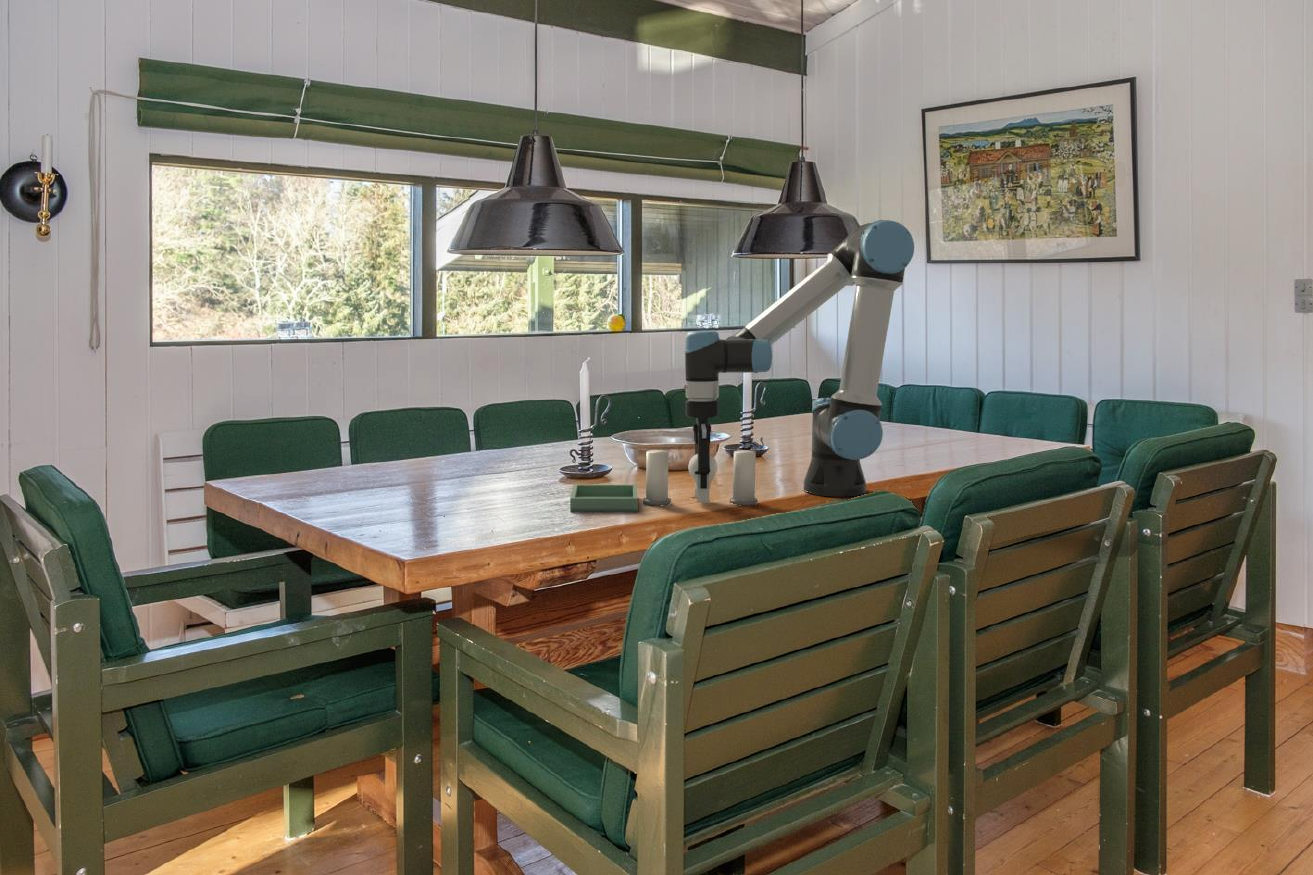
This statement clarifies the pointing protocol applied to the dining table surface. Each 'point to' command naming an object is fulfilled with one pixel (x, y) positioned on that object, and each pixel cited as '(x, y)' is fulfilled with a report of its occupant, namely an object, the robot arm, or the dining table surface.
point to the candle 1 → (656, 478)
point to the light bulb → (694, 467)
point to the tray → (604, 498)
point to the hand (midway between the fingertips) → (702, 499)
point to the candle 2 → (744, 478)
